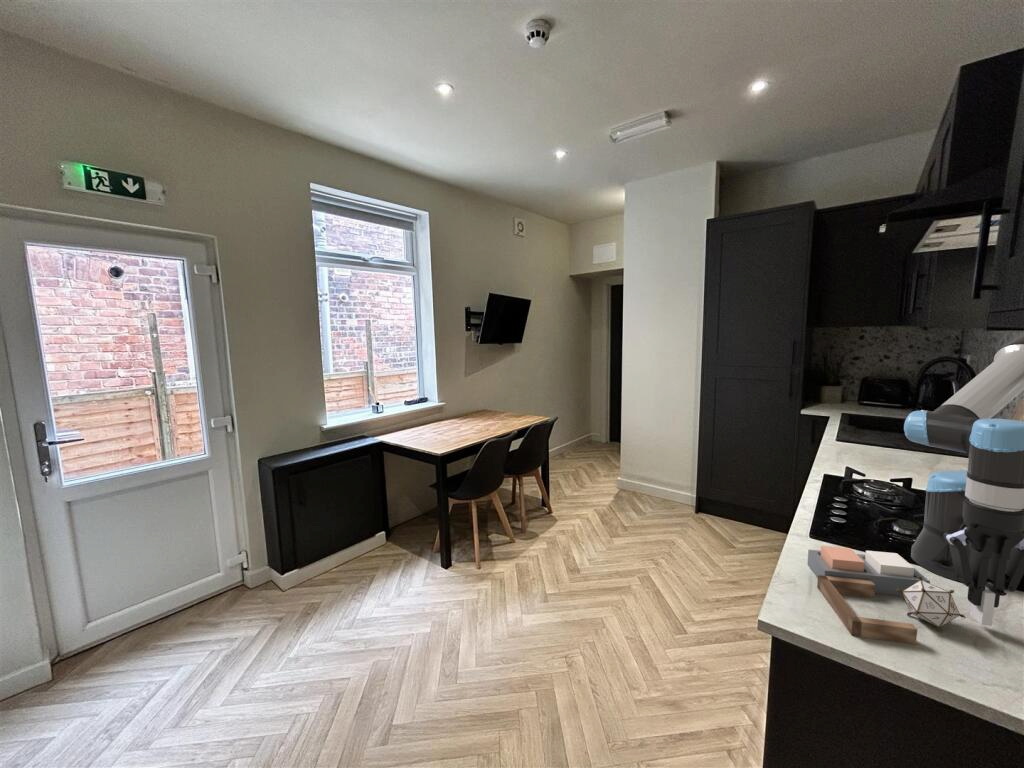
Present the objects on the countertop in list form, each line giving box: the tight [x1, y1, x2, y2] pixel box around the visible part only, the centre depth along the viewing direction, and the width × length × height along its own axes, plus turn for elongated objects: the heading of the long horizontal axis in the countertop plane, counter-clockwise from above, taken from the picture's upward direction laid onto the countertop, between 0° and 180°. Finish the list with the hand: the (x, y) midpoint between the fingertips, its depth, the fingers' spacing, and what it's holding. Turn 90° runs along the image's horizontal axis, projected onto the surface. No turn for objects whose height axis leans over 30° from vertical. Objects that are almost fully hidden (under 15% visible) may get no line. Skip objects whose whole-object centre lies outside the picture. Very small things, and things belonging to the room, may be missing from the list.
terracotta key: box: [820, 545, 865, 572], centre depth 95 cm, size 6×6×3 cm
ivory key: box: [864, 550, 915, 577], centre depth 92 cm, size 6×6×3 cm
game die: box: [896, 575, 967, 633], centre depth 80 cm, size 9×8×10 cm
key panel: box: [807, 549, 931, 597], centre depth 94 cm, size 19×9×4 cm, turn 74°
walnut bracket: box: [816, 575, 918, 645], centre depth 83 cm, size 10×15×3 cm, turn 164°
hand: (980, 620), depth 78 cm, fingers closed
